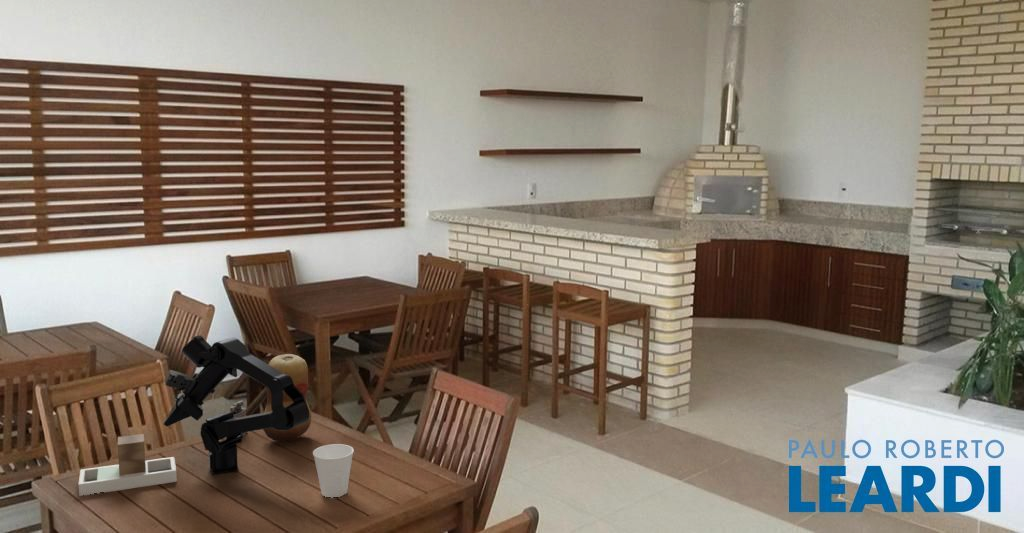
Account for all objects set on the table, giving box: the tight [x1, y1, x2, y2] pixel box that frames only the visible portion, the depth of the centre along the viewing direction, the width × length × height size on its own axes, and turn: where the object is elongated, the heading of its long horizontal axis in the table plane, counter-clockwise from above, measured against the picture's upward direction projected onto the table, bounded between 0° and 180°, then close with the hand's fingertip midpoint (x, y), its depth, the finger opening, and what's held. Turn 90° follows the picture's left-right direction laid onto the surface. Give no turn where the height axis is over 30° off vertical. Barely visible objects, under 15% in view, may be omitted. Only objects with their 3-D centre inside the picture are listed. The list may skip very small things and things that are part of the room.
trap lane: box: [77, 456, 178, 497], centre depth 209 cm, size 22×10×3 cm, turn 115°
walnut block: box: [117, 433, 146, 475], centre depth 209 cm, size 6×6×8 cm
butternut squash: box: [262, 353, 312, 442], centre depth 238 cm, size 14×13×25 cm
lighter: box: [229, 400, 248, 437], centre depth 241 cm, size 8×3×10 cm, turn 169°
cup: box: [312, 443, 355, 499], centre depth 203 cm, size 10×10×11 cm
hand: (164, 425), depth 211 cm, fingers closed
